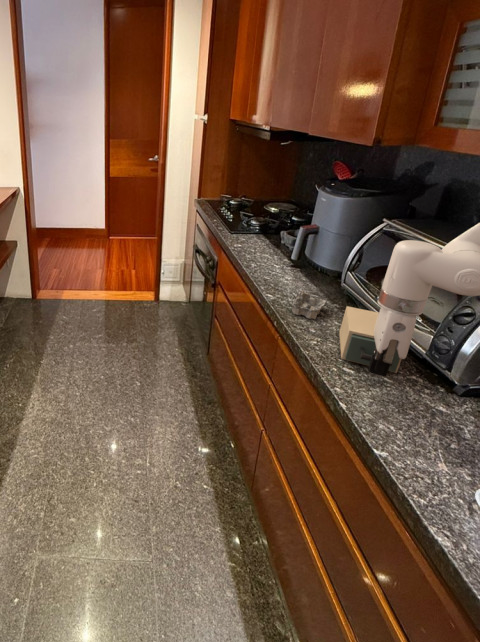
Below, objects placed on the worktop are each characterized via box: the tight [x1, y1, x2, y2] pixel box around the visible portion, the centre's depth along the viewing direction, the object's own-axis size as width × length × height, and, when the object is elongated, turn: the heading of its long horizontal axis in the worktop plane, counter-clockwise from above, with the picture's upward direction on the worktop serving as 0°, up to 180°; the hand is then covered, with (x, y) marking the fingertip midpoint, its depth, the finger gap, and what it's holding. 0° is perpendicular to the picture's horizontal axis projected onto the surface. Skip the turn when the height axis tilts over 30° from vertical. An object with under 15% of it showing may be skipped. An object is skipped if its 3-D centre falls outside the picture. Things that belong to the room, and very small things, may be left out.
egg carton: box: [291, 290, 327, 320], centre depth 118 cm, size 11×8×4 cm
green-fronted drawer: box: [345, 334, 400, 373], centre depth 95 cm, size 17×10×7 cm, turn 152°
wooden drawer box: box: [339, 305, 402, 374], centre depth 98 cm, size 13×11×8 cm
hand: (376, 372), depth 86 cm, fingers closed
